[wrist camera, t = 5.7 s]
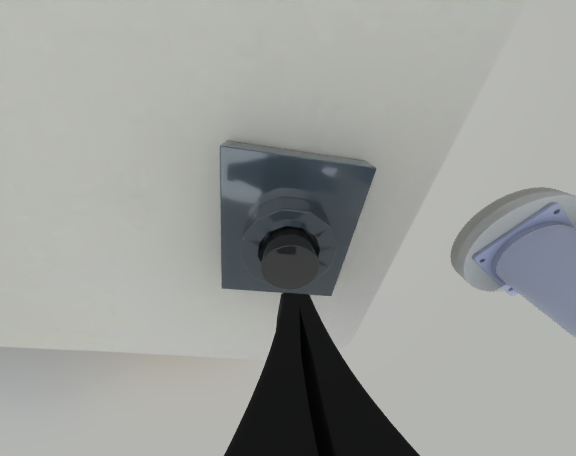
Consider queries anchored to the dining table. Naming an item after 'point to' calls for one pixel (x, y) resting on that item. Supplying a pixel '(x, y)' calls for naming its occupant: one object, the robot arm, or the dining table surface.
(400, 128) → the dining table surface
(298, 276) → the dark grey push button
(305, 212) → the grey button housing
